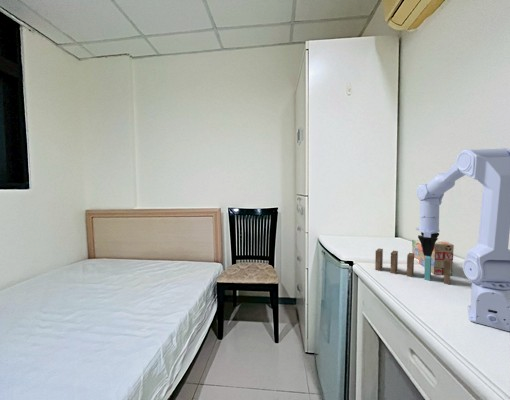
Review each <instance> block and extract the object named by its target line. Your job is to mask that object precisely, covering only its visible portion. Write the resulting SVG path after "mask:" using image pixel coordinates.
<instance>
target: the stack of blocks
mask: <svg viewBox="0 0 510 400" xmlns="http://www.w3.org/2000/svg"><path fill="white" fill-rule="evenodd" d="M411 245H412V249H411V250H412V252H411V253H414V258H416V259H418V260H419V263H418V264H419V265H421V266H422V267H423V268H425V257H426V256H424V254H423V249H422V245H421V242H420V240H419V239H412V241H411ZM454 247H455V246H454V244H452V243H450V242H448V241H446V240H443V239H440V238H438V239H437V241H436V242H435V245H434V249H433V252H432V255H431V274H432V275H437V276H444V260H445V258H450V277H452V276H453V273H454V272H453V269H454V267H453V266H454V265H453V264H454V261H453V260H454V249H455V248H454Z"/></svg>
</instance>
